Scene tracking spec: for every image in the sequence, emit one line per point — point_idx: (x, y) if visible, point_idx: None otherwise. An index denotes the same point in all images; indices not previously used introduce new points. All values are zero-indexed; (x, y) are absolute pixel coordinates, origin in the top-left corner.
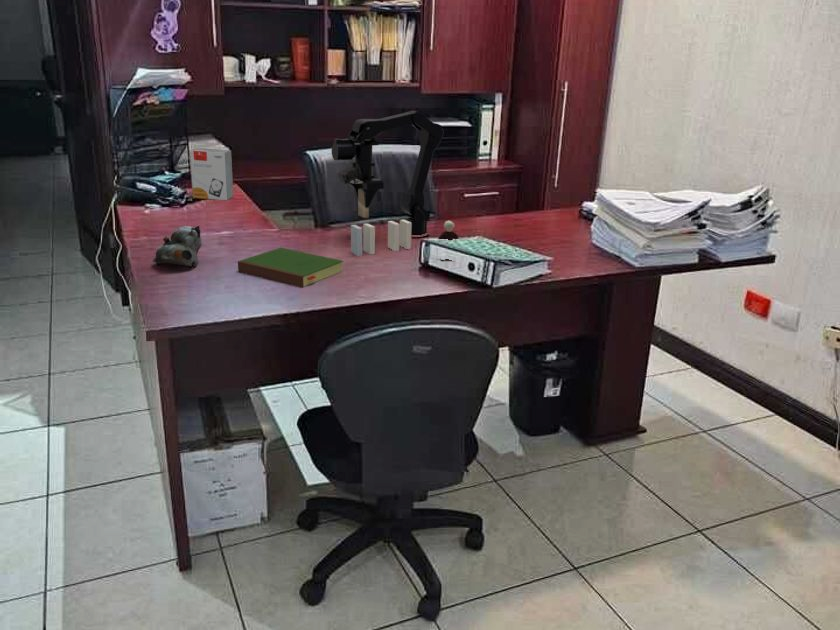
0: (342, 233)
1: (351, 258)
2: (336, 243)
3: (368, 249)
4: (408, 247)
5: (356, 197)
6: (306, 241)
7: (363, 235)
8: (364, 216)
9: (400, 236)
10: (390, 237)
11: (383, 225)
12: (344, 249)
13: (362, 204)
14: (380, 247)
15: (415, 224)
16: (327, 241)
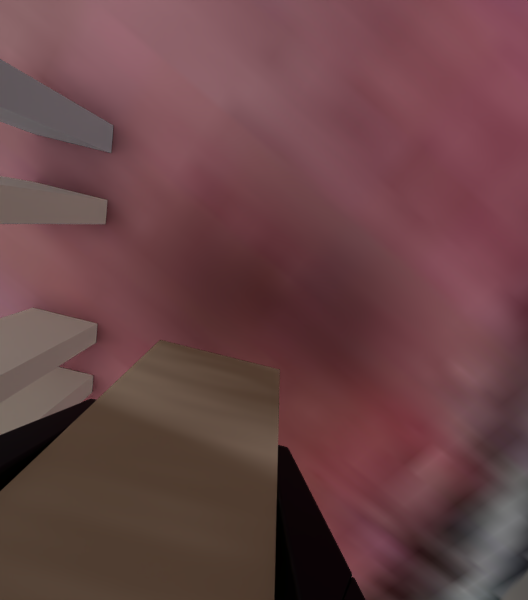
0: (426, 327)
1: (14, 47)
2: (297, 175)
3: (35, 183)
4: None
5: (321, 519)
6: (452, 47)
7: (42, 190)
8: (154, 345)
9: (51, 400)
10: (26, 338)
11: (393, 535)
12: (177, 133)
13: (147, 421)
14: (116, 302)
15: None
16: (362, 160)
